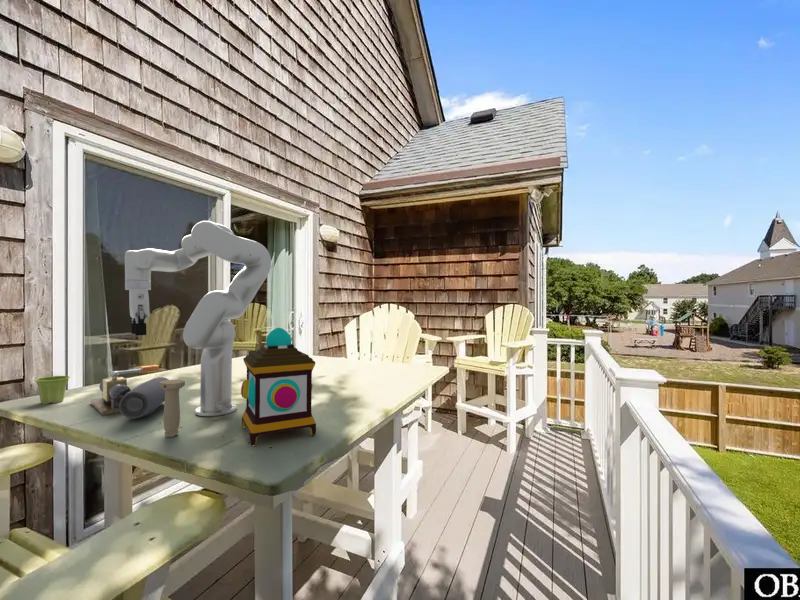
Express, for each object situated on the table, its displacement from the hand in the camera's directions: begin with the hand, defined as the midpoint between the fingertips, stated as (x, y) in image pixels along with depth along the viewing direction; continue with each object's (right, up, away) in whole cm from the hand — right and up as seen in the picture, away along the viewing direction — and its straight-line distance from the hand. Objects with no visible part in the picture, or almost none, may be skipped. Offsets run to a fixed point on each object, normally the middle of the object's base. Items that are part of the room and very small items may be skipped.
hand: (138, 334), depth 135 cm
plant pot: (-34, -25, +4) cm, 43 cm away
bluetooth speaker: (+8, -26, -7) cm, 28 cm away
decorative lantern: (+57, -26, -25) cm, 67 cm away
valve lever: (-4, -14, +4) cm, 15 cm away
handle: (+29, -26, -29) cm, 48 cm away
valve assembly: (-8, -25, -1) cm, 26 cm away
